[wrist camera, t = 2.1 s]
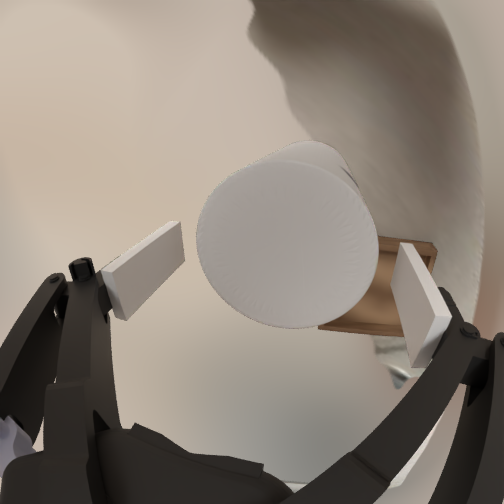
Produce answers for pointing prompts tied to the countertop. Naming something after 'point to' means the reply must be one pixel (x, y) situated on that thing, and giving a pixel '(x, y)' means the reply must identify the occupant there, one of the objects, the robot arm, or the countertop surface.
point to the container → (289, 238)
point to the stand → (381, 294)
